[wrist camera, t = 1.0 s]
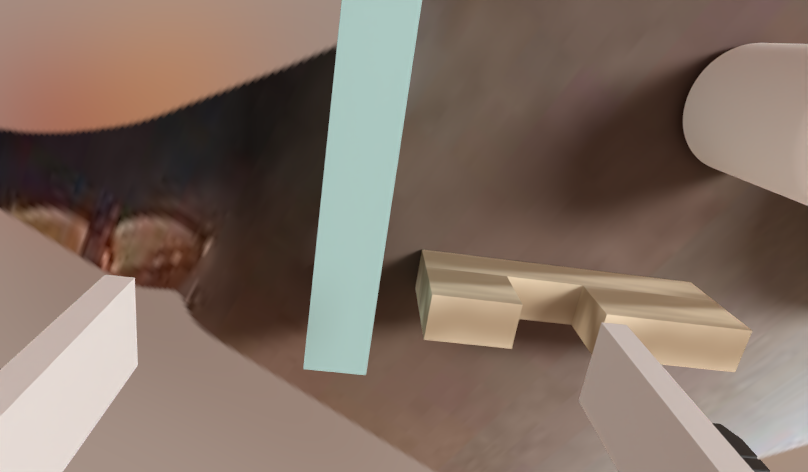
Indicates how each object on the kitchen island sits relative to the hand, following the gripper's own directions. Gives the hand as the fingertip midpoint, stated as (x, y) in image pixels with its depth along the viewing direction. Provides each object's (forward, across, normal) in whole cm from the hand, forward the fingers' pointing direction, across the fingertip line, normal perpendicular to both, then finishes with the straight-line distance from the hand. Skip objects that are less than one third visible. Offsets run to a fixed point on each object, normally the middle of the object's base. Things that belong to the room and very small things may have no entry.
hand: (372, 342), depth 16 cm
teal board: (+22, -1, 0) cm, 22 cm away
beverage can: (+22, +23, +7) cm, 33 cm away
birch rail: (+22, +14, -7) cm, 27 cm away
